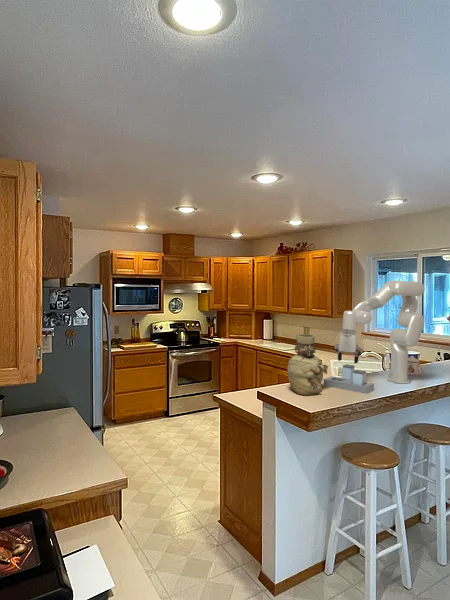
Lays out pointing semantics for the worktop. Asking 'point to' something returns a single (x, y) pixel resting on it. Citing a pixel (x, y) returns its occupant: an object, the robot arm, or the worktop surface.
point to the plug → (348, 371)
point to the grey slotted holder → (348, 385)
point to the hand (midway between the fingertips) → (347, 361)
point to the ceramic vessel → (306, 367)
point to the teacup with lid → (413, 366)
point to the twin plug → (359, 377)
